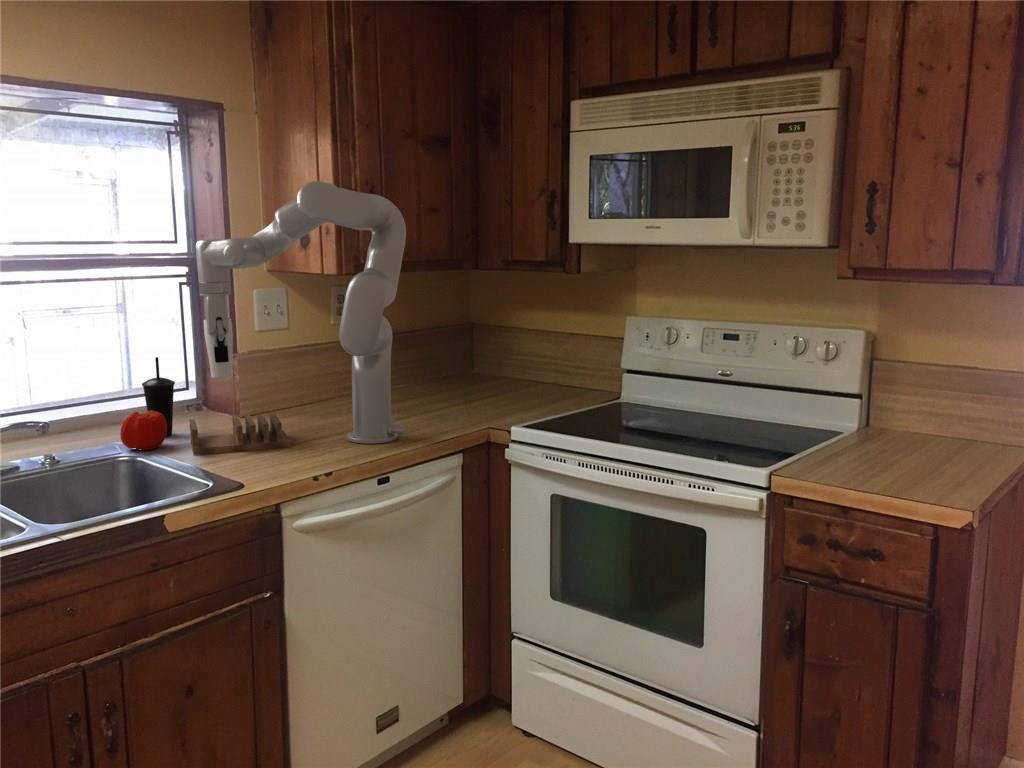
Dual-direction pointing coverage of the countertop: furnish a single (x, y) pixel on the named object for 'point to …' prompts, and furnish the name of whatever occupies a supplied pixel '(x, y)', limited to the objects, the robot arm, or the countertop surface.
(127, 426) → the tomato
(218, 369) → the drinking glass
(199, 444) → the rack
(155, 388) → the drinking cup
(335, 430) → the countertop surface
